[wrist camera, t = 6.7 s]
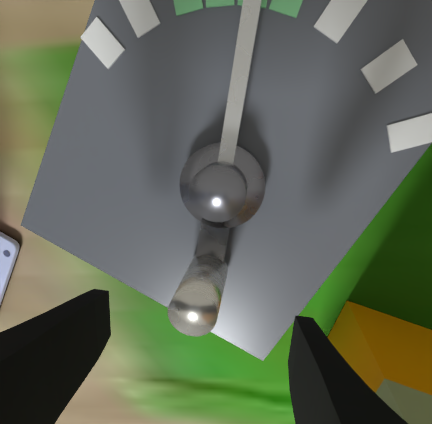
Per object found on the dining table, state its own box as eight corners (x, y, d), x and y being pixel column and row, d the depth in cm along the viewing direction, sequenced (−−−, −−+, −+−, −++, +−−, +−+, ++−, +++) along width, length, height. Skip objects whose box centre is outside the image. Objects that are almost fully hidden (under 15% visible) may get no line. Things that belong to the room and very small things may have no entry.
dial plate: (263, 333, 20) (264, 362, 17) (49, 212, 20) (18, 225, 17) (477, 45, 14) (524, 27, 11) (173, -132, 14) (153, -189, 11)
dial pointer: (243, 291, 16) (237, 346, 12) (171, 275, 16) (142, 324, 12) (305, -7, 12) (328, -73, 8) (207, -19, 12) (181, -88, 8)
